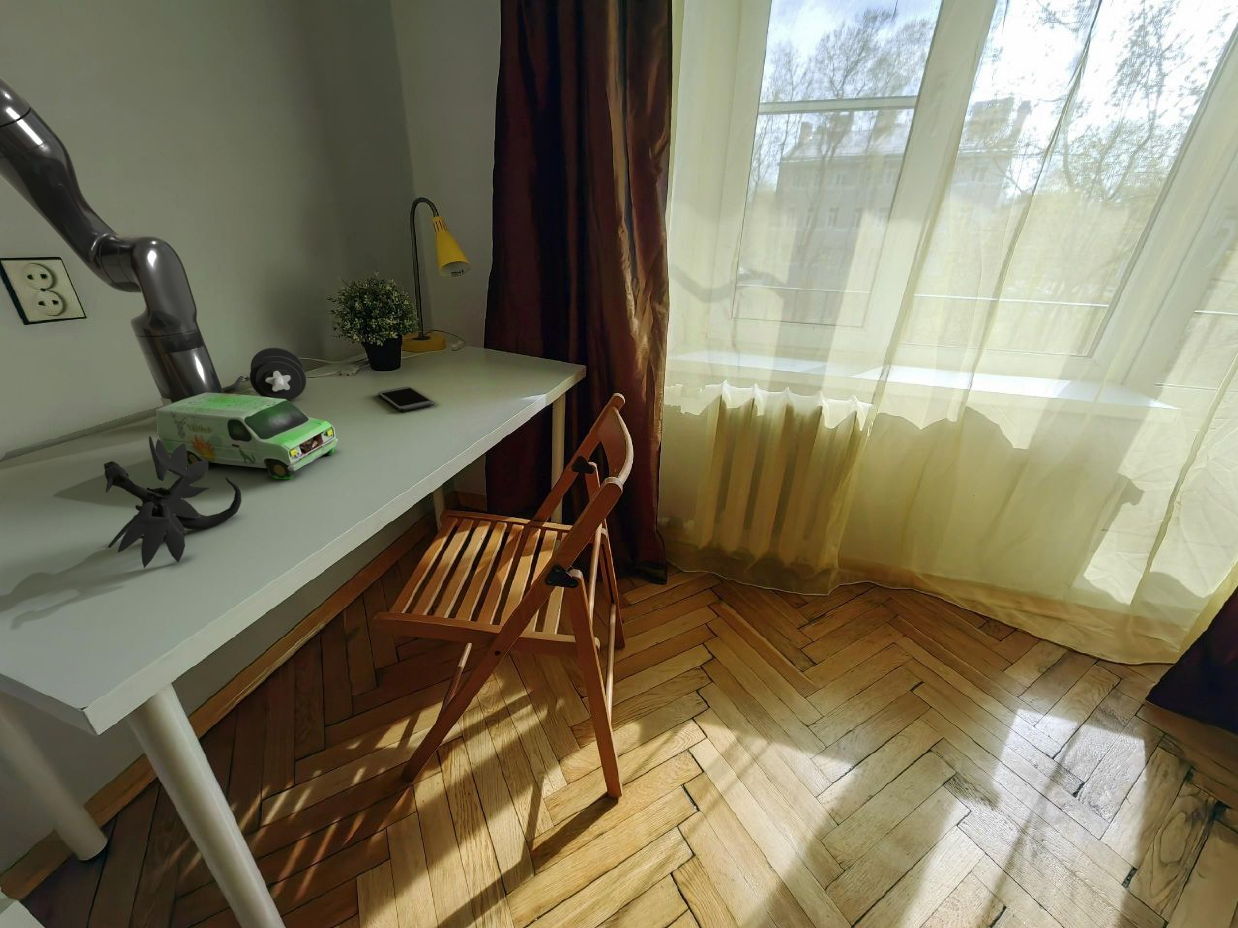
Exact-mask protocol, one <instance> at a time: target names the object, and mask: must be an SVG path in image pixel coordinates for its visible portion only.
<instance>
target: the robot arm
mask: <svg viewBox="0 0 1238 928" xmlns="http://www.w3.org/2000/svg"><path fill="white" fill-rule="evenodd" d="M0 178H1V179H2V180H3V181H4V182H5V183H6V184H7V185H8V186H10V188H11V189H12V190H14V192H16V194H17V195H18V196H19V197H20V198H22V200H24V202H25V203H26V204H28V206H30V207H31V208H32V210H34V211H35V212H36V213H37V214H38V215H39V216H40V217H41V218H42V219H43V220H44V221H45V222H46V224H48V226H49V227H50V228H51V229H52V230H53V231H54V232H55V233H56V234H57V235H58V236H59V237H60V238H61V240H62V241H63V242H64V243H65V244H66V245H67V246H68V248H70V250H71V251H72V252H73V253H74V254H75V255H76V256H77V258H78V259H79V260H80V261H81V262H82V263H83V264H84V266H86V268H87V269H88V270H89V271H90V272H91V273H92V274H93V275H94V276H95V277H96V278H97V279H99V280H100V281H101V282H102V283H104V284H105V285H106V286H108V287H109V288H112V289H114V290H117V291H120V292H124V293H140V294H141V296H142V298H143V303H144V309H143V310H142V311H141V312H140V313H137V314H135V315H133V316H131V317H130V318H129V320H128V323H129V327H130V329H131V331H132V333H133V335H134V337H135V341H136V343H137V344H138V347H139V349H140V351H141V354H142V356H143V358H144V360H145V362H146V365H147V367H148V369H149V372H150V374H151V376H152V379H153V381H154V383H155V386H156V388H157V390H158V393H159V395H160V400H161V403H162V405H163V406H167V405H169V404H172V403H175V402H178V401H180V400H183V399H187V398H190V397H193V396H197V395H200V394H203V393H223V394H228V393H227V392H230V391H233V390H235V389H236V388H238V387H239V385H240V384H241V383H242V382H243V381H244V380H245V381H250V376H249V375H246V376H247V377H246V378H244V377H243V376H240V375H239V376H240V377H239V376H238V378H237V379H236V381H235V382H234V383H233V384H231V385H229V386H227V387H223V388H222V385H221V382H220V379H219V377H218V373H217V371H216V369H215V366H214V364H213V360H212V358H211V355H210V353H209V350H208V348H207V347H208V346H207V345H206V343H205V342H206V341H205V339H204V337H203V335H202V331H201V329H200V326H199V323H198V320H197V319H198V318H197V317H198V309H197V305H196V300H195V299H194V295H193V292H192V288H191V285H190V282H189V278H188V275H187V272H186V269H185V267H184V264H183V262H182V260H181V258H180V256H179V255H178V253H177V252H176V250H175V249H174V248H173V246H172V245H170V243H168V242H166V241H165V240H164V239H162V238H160V237H157V236H153V235H145V234H144V235H142V234H141V235H138V234H137V235H135V234H119V233H117V232H116V231H115V230H113V228H112V227H110V226H109V225H108V224H107V223H106V222H105V221H104V220H103V219H102V218H101V217H100V216H99V215H98V213H96V211H95V210H94V209H93V208H92V207H91V205H90V204H89V203H88V201H87V200H86V198H85V196H84V194H83V192H82V189H81V188H80V184H79V181H78V177H77V173H76V169H75V166H74V164H73V160H72V158H71V155H70V153H69V151H68V149H67V148H66V145H65V144H64V142H63V141H62V140H61V138H59V136H58V134H56V132H55V131H54V130H53V129H52V128H51V127H50V126H49V124H47V122H46V121H45V120H44V119H43V118H42V117H41V116H40V115H39V114H38V112H37V111H36V110H35V109H34V108H33V107H32V106H31V104H30V103H29V101H27V100H26V99H25V98H24V96H22V94H20V93H19V92H18V91H17V90H16V88H14V87H13V86H12V85H11V84H10V83H9V82H8V81H6V80H5V79H4V78H3V77H2V76H0ZM243 378H244V379H243Z"/></svg>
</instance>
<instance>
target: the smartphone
mask: <svg viewBox="0 0 1238 928" xmlns="http://www.w3.org/2000/svg"><path fill="white" fill-rule="evenodd" d="M377 394H378V396H379V397H381V398H382V399H383V400H385V402H387V403H389V404H390V405H391V406H393V408H395V409H397V410H398V411H400V412H408V411H409V412H410V411H413V410H419V409H423V408H427V407H431V406H434V405H435V402H434V400H432V399H431V398H429V397H427V396H425V395H424V394H422V393H421V392H419V391H417V390H416V389H415V388H412V387H411V386H402V387H395V388H391V389H385V390H380V391H378V393H377Z"/></svg>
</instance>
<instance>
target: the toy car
mask: <svg viewBox="0 0 1238 928" xmlns="http://www.w3.org/2000/svg"><path fill="white" fill-rule="evenodd" d="M155 423H156V431H157V432H156V433H157V436H158V439H159V440H160V441H161V442H162V444H163V445H164V447H165V449H166V450H167V452H168V454H169V456H170V457H171V455H172V453H173V452H174V450H175V449H176V448H177V447H179V446H180V445H182V444H185V446H186V449H187V467H188V466H189V465H191V464H193V463H195V462H198V461H207V460H208V468H209V467H210V463H211V464H212V463H214V464H221V465H232V466H240V467H241V466H242V467H249V468H250V467H251V468H258V469H259V468H260V469H267V471H268V473H269V474H270V476H271V477H272V478H273V479H277V480H291V479H292V478H294V475H295V474H296V473H295V471H297V470H298V469H301V468H302V467H304V466H306V465H308V464H310V463H312V462H314V461H316V460H317V459H319V458H320V457H322V456H324V455H327V456H332V455H333V454H334V452H335V447H336V445H337V444H338V440H339V439H338V438H337V437H336V431H335V427H334V426H333V424H331V423H329V422H328V421H327V420H321V419H318V418H312V417H309V416H307V415H306V413H305V412H303V411H302V410H301V409H299V408H298V407H297V406H296V405H294V403H292V402H291V401H290V400H289V401H288V400H286V399H277V398H269V397H263V396H261V395H248V394H237V393H227V394H223V393H203V394H200V395H197V396H193V397H190V398H187V399H183V400H180V401H178V402H175V403H172V404H169V405H167V406H165V405H163V406H162V407H160V408H157V409H156V410H155Z"/></svg>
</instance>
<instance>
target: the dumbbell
mask: <svg viewBox="0 0 1238 928" xmlns="http://www.w3.org/2000/svg"><path fill="white" fill-rule="evenodd" d="M249 370H250V372H249V378H250V380H249V383H250V385H251V387H252V388H253V390H254V391H255V392H256V393H257V394H258V395H259V396H260V397H269V398H277V399H286V400H288V401H289V402H290V401H292V400H294V399H297V398H298V397H299V396H301V394H303V392H304V390H305V389H306V386H307V375H306V373H305V369H304V365H303V362H302V361H301V359H300V358H299V357H298V356H297V355H296V354H295V353H293V352H292V351H290V350H288V349H286V348H281V347H268V348H267V347H266V348H264V349H261V350H260V351H258V352H257V353H256V354H255V355H254V356H253V357H252V359H251V362H250V369H249Z"/></svg>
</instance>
